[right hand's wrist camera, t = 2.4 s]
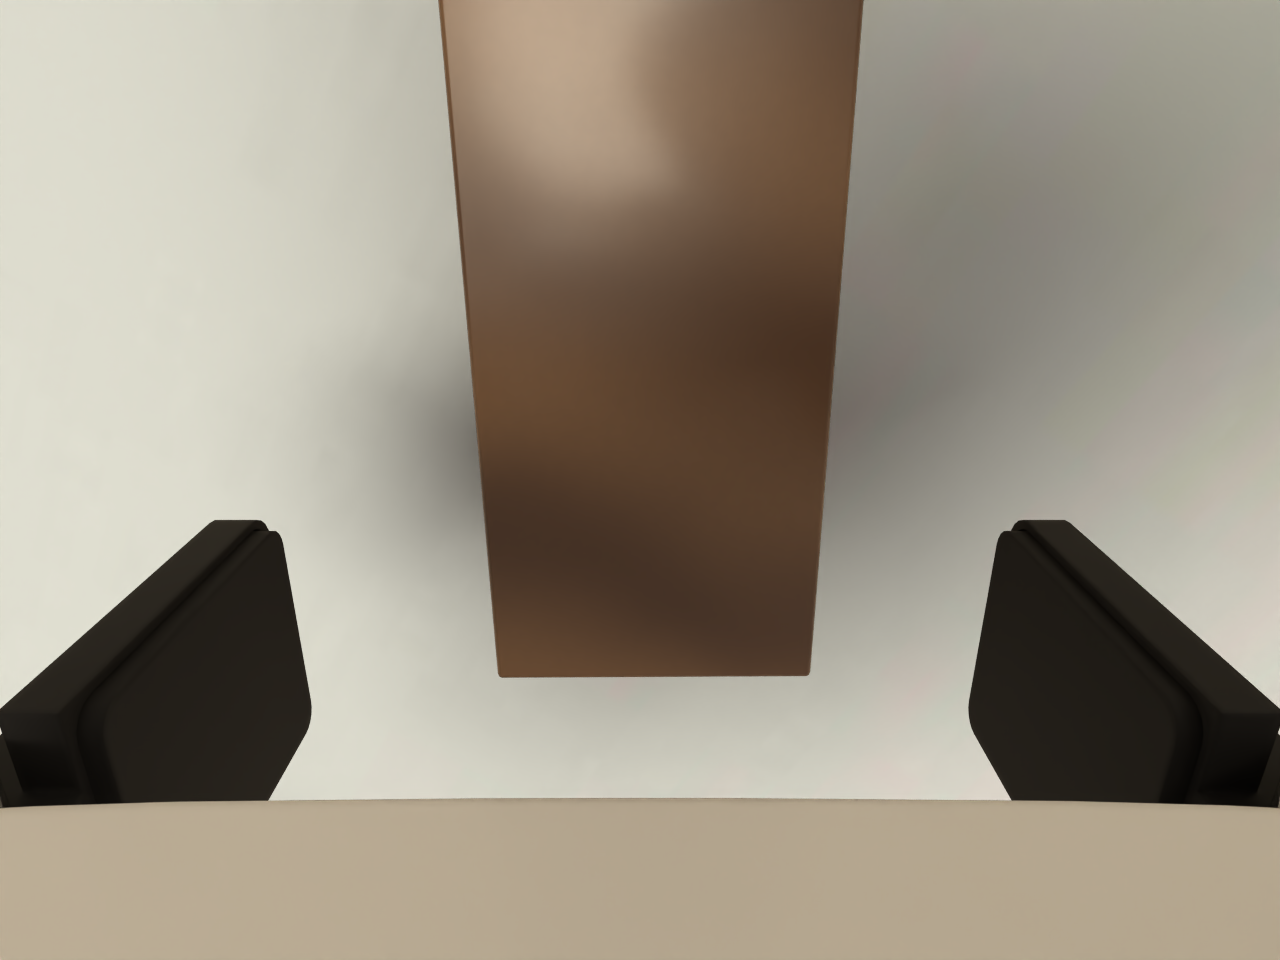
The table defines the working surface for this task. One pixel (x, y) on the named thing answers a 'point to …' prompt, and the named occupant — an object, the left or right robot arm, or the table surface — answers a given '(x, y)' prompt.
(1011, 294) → the table surface
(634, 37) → the beam
